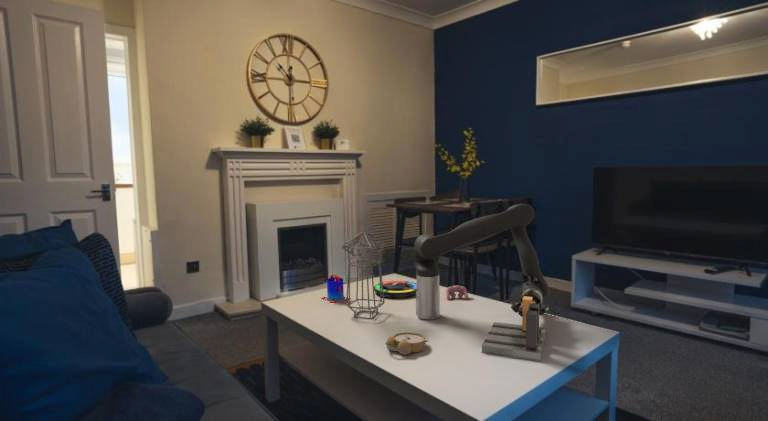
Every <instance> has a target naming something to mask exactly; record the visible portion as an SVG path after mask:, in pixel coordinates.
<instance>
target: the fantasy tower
mask: <svg viewBox="0 0 768 421" xmlns="http://www.w3.org/2000/svg"><path fill="white" fill-rule="evenodd" d="M326 294H327V297H326V296H322V297H321V298H320V299H323V300H322V301H326V300H327V301H326V302H328V301H329V302H328V304H329V303H335V304H336V303H339V301H340V302H344V301H343V300H345V301H347V296H345V295H344V278H343V277H339V276H338V275H337V274H331V275H330V277H329V278H327V279H326ZM325 298H326V299H325ZM345 298H346V299H345ZM324 299H325V300H324ZM350 299H351V300H352V298H351V297H350ZM348 301H349V296H348Z"/></svg>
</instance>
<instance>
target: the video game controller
mask: <svg viewBox="0 0 768 421" xmlns="http://www.w3.org/2000/svg"><path fill="white" fill-rule="evenodd" d="M445 291H446V292H445V296H446V300H447V301H450V297H451V298H452V299H455V298H456V297H457V298H459V299H462V298H463V297H464V298H465V300H466V301H467V300H468V299H469V294H468V290H467V288H466V287H465V286H462V285H451V286H448V287H447V288H446V290H445ZM456 293H457V294H456Z"/></svg>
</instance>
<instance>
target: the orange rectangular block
mask: <svg viewBox="0 0 768 421" xmlns="http://www.w3.org/2000/svg"><path fill="white" fill-rule="evenodd" d="M530 304H533V297H527V296H524V297H523V299H522V318H521V322H522V323H521V325H522V330H526V313H527V311H528V310H529V305H530Z"/></svg>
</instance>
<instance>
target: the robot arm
mask: <svg viewBox="0 0 768 421" xmlns="http://www.w3.org/2000/svg"><path fill="white" fill-rule="evenodd" d="M534 218H535V210H534V208H533V207H532V206H531V205H530V204H526V203H517V204H513V205H511V206H509V207H508V208H507V209H506V210H504V211H502V212H499V213H494V214H488V215H485V216H479V217H476V218H473V219H471V220H468V221H465V222H464V223H462V224H460V225H458V226H456V227H455V228H454V229H452V230H450V231H449V232H446V233H443V234H439V235H435V236H432V235H430V234H421V235H419V236H418V237H416V239H415V241H414V246H413V250H414V251H413V255H414V258H413V259H414V267H415V272H416V284H417V292H416V294H415V315H416V316H417V318H418V320H420V319H422V320H435V319H438V318H440V317H441V309H440V308H441V306H440V305H441V304H440V303H441V302H440V300H441V299H440V293H441V292H440V268H439V266H438V262H437V258H439V257H441V256H443V255H445V254H448V253H449V252H451V251H454V250H457V249H459V248H460V249H461V248H464V247H466V246H467V247H468V246H470V245H472V244H476V243H478V242H482V241H485V240H486V239H488V238H489V239H490V238H491V237H494V236H496V235H498V234H500V233H502V232H504V231H507V230H510V231H511V235H512V238H513V240H514V243H515V246H516V249H517V252H518V257H519V262H520V266H521V271H522V273H523V276H527V277H534V278H535V279H537V280H530V281H526V282H524V283H523V284H522V285H521V289H522V290H521V291H522V295H521V298H520V299H519V301H518V302H516V301H514V300H511V301H510V309H511V310H512V311H513V312H514V313H518V315H519V317H522V299H523V297H524V296H527V297H533V304H539V316H543V315H545V314H547V313H549V310H550V308H549V307H550V306H549V304H547V303H546V304H543V298H546V297H547V296H549V294H550V287H549V284H548V283H547V280H545V278H544V277H545V276H543V274H542V271H541V267H540V263H539V258H538V255H537V252H536V249H535V248H534V246H533V244H532V242H531V241H530V238H529V236H528V233H527V229H526V226H527V225H529V224H531V222H533V221H534Z"/></svg>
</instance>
